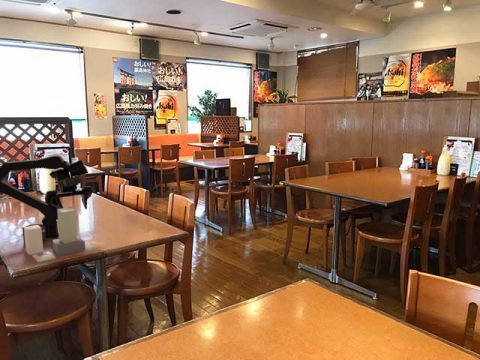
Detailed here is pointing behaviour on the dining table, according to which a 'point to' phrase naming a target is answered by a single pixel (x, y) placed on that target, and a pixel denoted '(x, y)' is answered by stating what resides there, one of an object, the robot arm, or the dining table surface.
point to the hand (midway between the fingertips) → (75, 210)
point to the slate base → (68, 246)
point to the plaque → (43, 257)
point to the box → (41, 229)
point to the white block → (33, 239)
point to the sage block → (67, 225)
